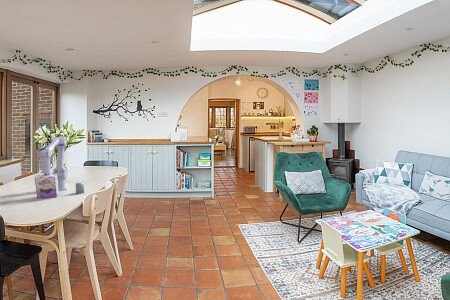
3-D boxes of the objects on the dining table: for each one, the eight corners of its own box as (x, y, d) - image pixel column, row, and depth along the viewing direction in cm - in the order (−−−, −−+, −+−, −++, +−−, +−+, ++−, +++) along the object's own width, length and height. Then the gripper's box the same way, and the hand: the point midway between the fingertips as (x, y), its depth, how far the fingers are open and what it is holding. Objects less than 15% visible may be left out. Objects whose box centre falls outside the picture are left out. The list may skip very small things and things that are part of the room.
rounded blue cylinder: (74, 192, 245) (74, 183, 245) (82, 191, 249) (82, 182, 249) (77, 194, 241) (76, 184, 240) (85, 193, 245) (84, 183, 244)
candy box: (36, 198, 228) (34, 177, 224) (39, 194, 234) (37, 174, 229) (56, 197, 231) (54, 176, 227) (59, 194, 237) (57, 174, 232)
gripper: (38, 165, 236) (39, 182, 237) (41, 167, 225) (42, 185, 226) (48, 164, 241) (49, 181, 242) (52, 166, 230) (53, 184, 231)
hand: (46, 183), depth 234 cm, fingers closed
